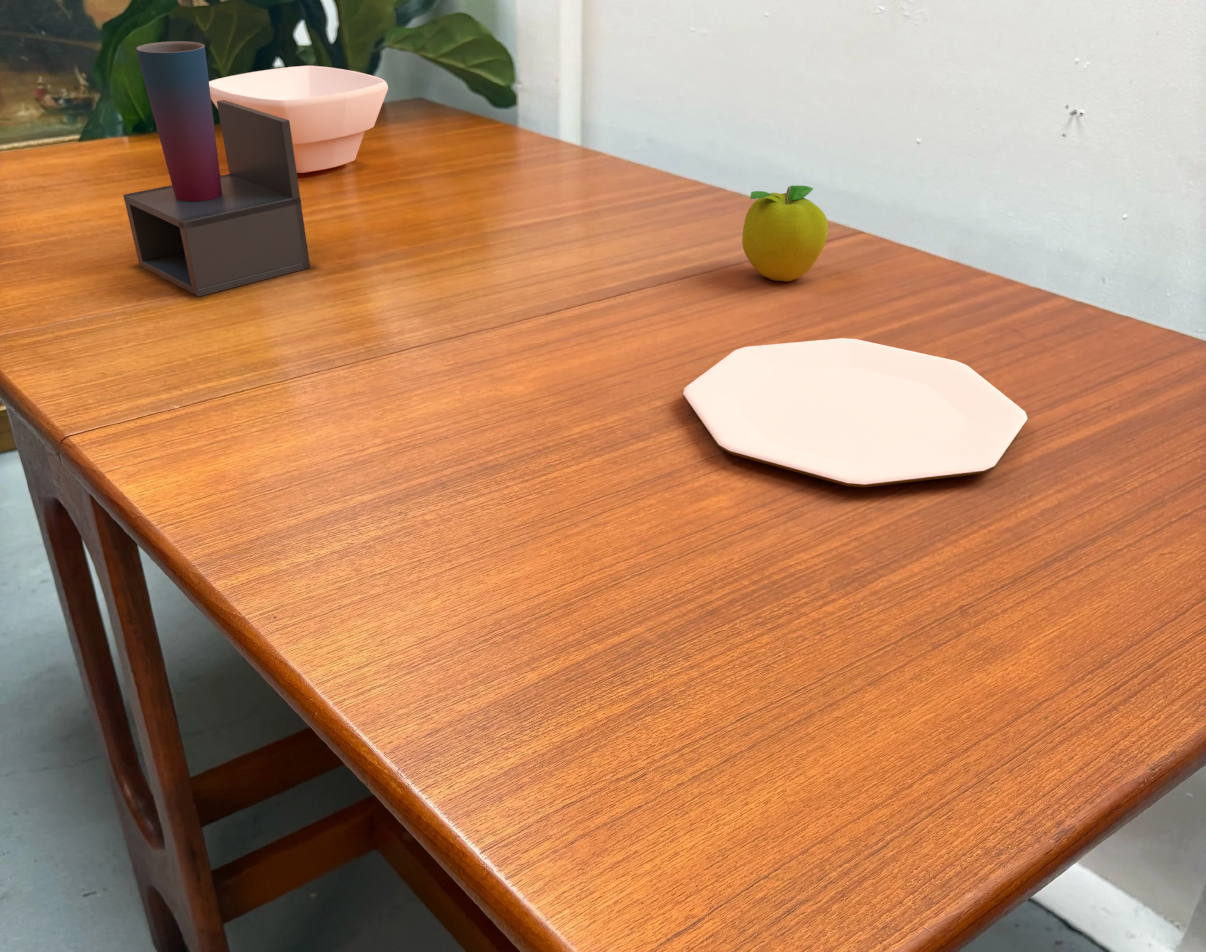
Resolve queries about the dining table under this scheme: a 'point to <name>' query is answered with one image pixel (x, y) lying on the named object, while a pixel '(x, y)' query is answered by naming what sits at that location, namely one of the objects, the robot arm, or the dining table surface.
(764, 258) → the fruit
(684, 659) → the dining table surface
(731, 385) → the plate
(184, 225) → the dark grey toy chair
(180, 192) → the cup
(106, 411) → the dining table surface
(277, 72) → the bowl
